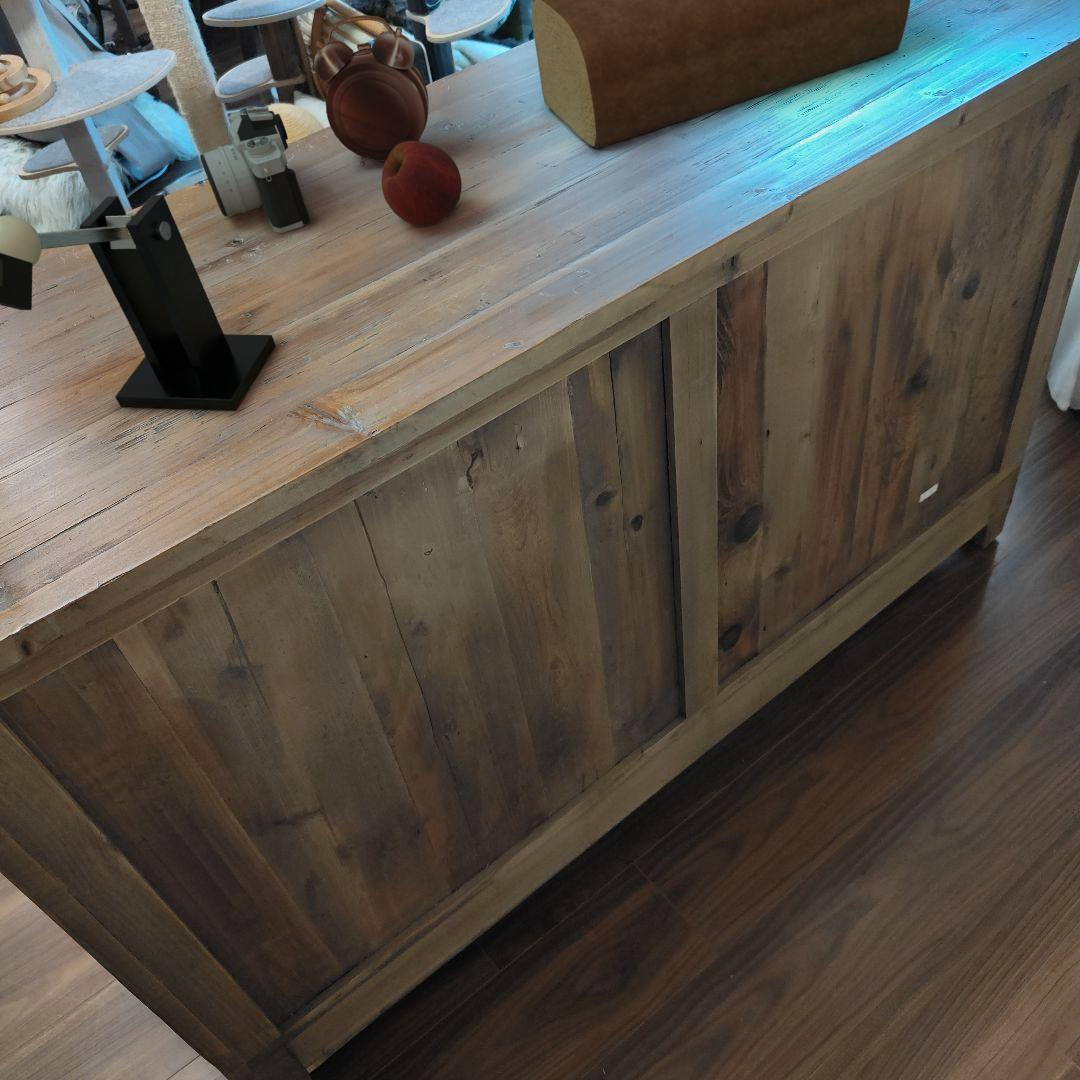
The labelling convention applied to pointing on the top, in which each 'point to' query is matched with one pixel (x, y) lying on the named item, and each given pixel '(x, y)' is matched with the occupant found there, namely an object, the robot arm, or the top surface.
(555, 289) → the top surface
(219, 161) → the camera
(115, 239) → the lever
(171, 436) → the top surface
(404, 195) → the apple
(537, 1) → the bread
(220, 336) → the lever bracket
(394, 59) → the alarm clock
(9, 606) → the top surface
